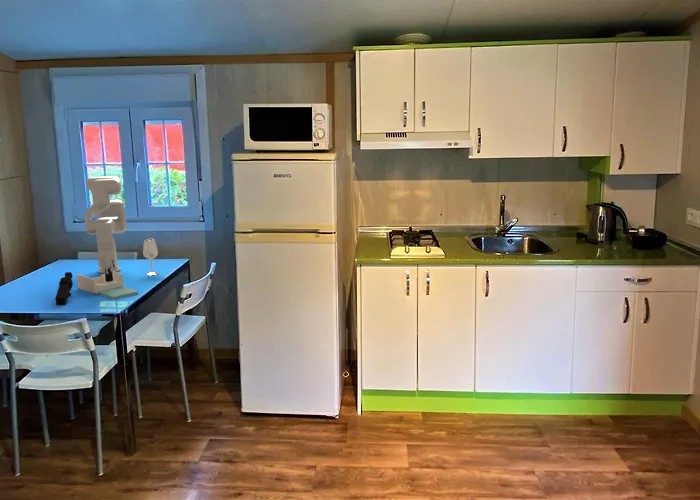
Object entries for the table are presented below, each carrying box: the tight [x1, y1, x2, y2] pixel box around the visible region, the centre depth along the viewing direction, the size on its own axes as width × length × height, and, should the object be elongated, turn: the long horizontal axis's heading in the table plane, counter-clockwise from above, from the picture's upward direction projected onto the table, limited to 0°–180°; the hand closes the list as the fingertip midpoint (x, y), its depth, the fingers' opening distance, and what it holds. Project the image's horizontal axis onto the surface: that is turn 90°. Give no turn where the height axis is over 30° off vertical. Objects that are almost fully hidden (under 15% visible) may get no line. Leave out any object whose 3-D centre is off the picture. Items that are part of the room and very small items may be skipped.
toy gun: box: [54, 271, 74, 306], centre depth 297 cm, size 6×25×10 cm, turn 14°
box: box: [76, 271, 125, 296], centre depth 315 cm, size 20×15×8 cm
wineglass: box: [142, 238, 160, 276], centre depth 343 cm, size 8×8×20 cm
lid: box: [98, 286, 139, 300], centre depth 303 cm, size 16×13×2 cm
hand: (109, 281), depth 307 cm, fingers closed
